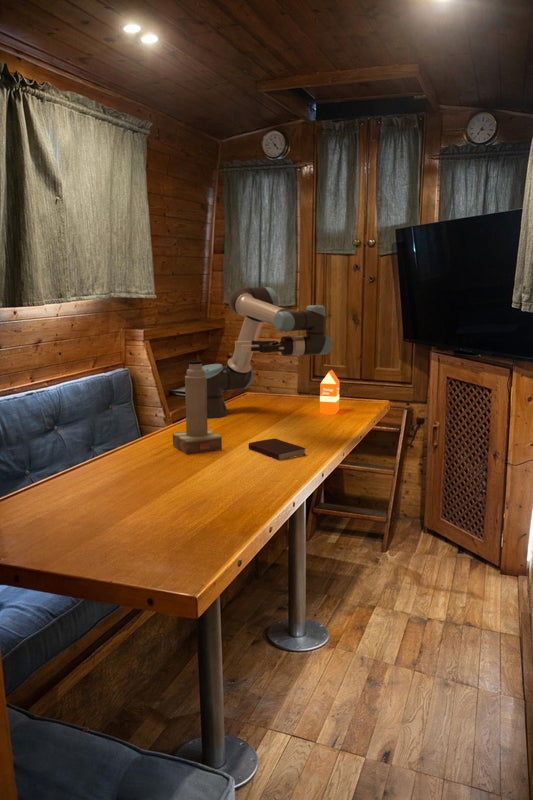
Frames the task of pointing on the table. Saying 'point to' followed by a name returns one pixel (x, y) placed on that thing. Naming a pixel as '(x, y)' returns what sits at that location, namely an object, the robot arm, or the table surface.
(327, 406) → the orange juice
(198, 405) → the thermos bottle
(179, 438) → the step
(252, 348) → the robot arm
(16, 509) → the table surface
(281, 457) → the book
